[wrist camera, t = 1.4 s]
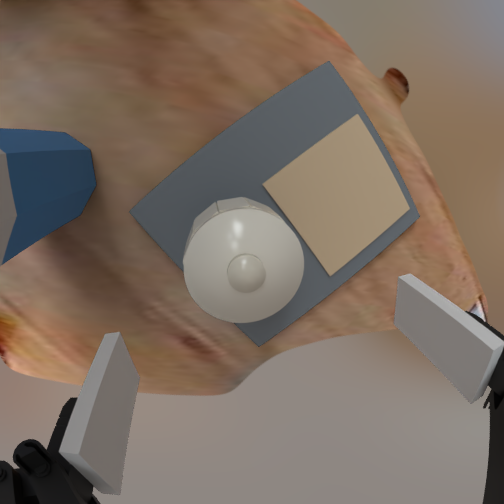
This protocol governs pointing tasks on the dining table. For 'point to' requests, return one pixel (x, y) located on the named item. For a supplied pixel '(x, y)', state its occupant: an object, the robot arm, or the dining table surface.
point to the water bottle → (40, 185)
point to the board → (294, 187)
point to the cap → (242, 261)
